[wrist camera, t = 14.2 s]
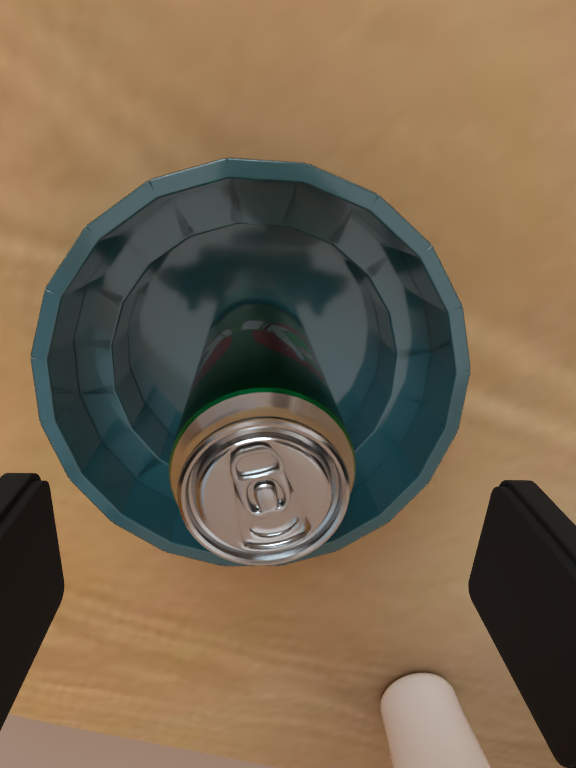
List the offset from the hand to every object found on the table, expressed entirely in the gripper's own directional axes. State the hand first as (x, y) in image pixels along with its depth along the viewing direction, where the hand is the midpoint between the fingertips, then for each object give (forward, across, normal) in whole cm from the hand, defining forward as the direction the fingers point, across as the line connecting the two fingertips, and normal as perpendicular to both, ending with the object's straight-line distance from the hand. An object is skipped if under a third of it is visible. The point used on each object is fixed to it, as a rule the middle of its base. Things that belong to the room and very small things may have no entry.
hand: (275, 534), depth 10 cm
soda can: (+14, 0, 0) cm, 14 cm away
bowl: (+14, 0, 0) cm, 14 cm away
